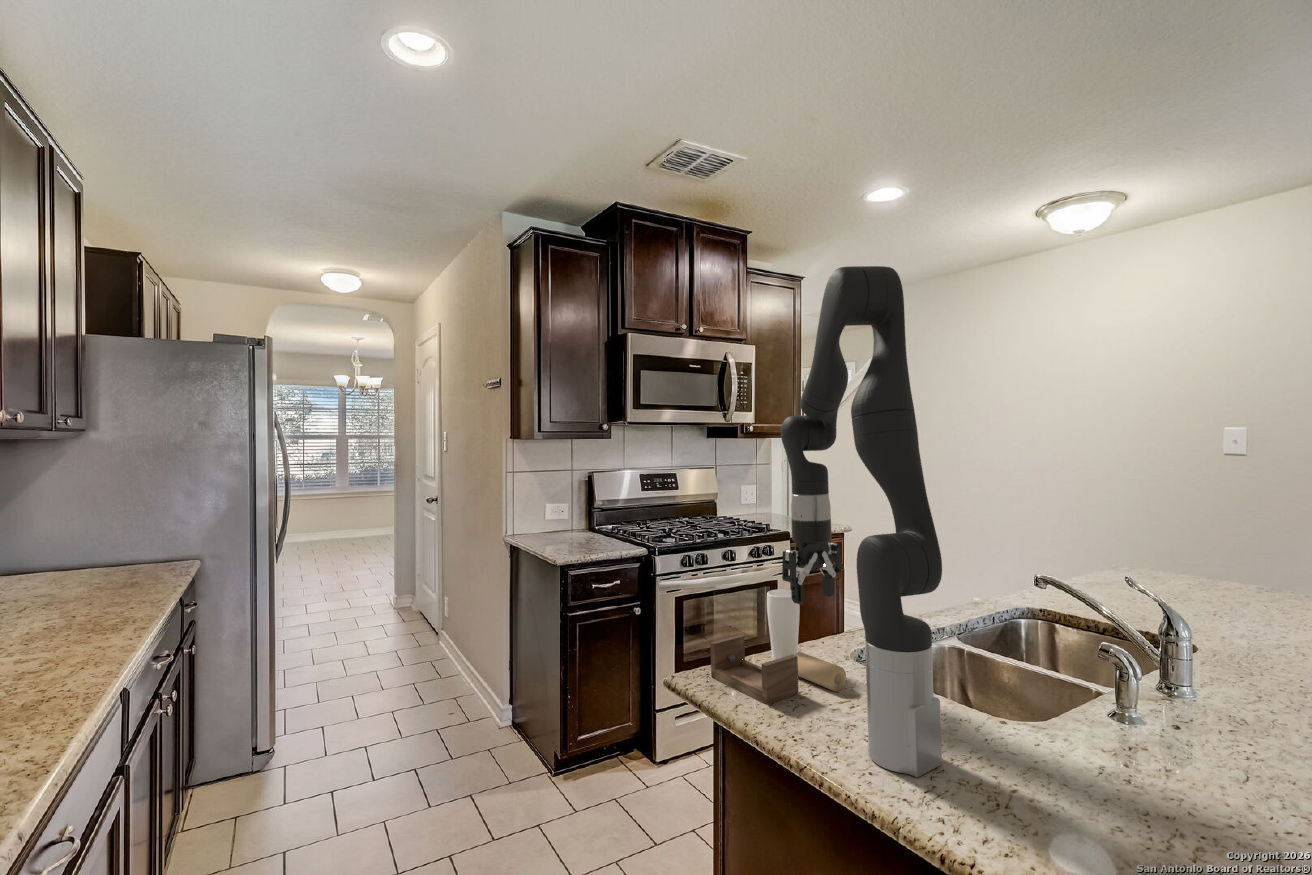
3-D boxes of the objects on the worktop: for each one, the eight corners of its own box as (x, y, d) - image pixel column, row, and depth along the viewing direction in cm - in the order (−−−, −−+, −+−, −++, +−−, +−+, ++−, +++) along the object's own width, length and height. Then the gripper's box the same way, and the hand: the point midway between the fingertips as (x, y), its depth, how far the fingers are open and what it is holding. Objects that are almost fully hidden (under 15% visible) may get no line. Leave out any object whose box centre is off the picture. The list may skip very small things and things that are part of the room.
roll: (847, 688, 117) (846, 664, 117) (830, 694, 114) (829, 669, 114) (806, 672, 125) (805, 649, 125) (790, 677, 123) (789, 654, 123)
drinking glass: (798, 657, 133) (796, 588, 133) (803, 669, 126) (801, 596, 127) (767, 657, 134) (765, 589, 134) (770, 669, 127) (767, 597, 127)
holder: (798, 693, 115) (797, 656, 115) (767, 704, 110) (766, 665, 110) (741, 668, 128) (740, 634, 128) (711, 677, 124) (710, 642, 124)
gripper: (799, 522, 113) (802, 610, 113) (850, 515, 121) (853, 597, 121) (770, 518, 119) (773, 602, 119) (820, 512, 127) (823, 590, 127)
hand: (813, 599), depth 120 cm, fingers open, 8 cm apart
